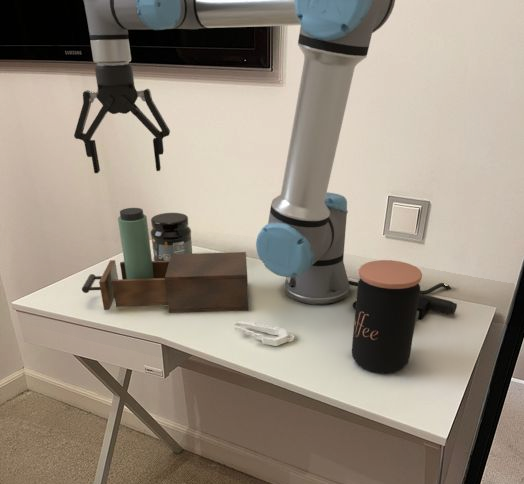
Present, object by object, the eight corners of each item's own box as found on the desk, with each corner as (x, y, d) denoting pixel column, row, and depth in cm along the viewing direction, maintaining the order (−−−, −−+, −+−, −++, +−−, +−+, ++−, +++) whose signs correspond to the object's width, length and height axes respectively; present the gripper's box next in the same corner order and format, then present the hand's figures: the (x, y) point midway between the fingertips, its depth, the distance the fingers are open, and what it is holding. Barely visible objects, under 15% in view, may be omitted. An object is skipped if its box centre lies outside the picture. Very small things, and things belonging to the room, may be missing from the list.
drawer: (82, 310, 118) (76, 282, 115) (94, 287, 129) (89, 260, 126) (179, 307, 119) (176, 279, 116) (183, 284, 130) (180, 258, 126)
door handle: (434, 332, 106) (460, 298, 116) (342, 307, 115) (374, 278, 126) (431, 346, 107) (457, 311, 118) (342, 320, 117) (373, 290, 128)
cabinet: (168, 313, 119) (164, 277, 115) (174, 287, 131) (170, 254, 126) (248, 310, 120) (247, 274, 115) (246, 285, 131) (245, 251, 127)
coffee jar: (345, 347, 106) (352, 261, 96) (398, 344, 106) (410, 258, 97) (358, 377, 97) (367, 285, 87) (416, 374, 97) (431, 282, 88)
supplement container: (167, 252, 151) (163, 210, 145) (200, 257, 148) (197, 214, 141) (146, 265, 143) (140, 221, 137) (180, 271, 139) (176, 226, 133)
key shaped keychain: (227, 337, 109) (226, 330, 108) (236, 326, 113) (236, 319, 112) (287, 349, 105) (287, 341, 104) (295, 337, 109) (295, 329, 108)
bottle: (160, 288, 125) (150, 208, 116) (148, 299, 120) (137, 216, 111) (137, 286, 127) (125, 206, 117) (124, 296, 122) (111, 213, 112)
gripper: (175, 61, 114) (184, 165, 125) (55, 64, 112) (74, 169, 123) (173, 63, 108) (183, 172, 118) (45, 66, 106) (67, 176, 117)
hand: (128, 171), depth 121 cm, fingers open, 13 cm apart
